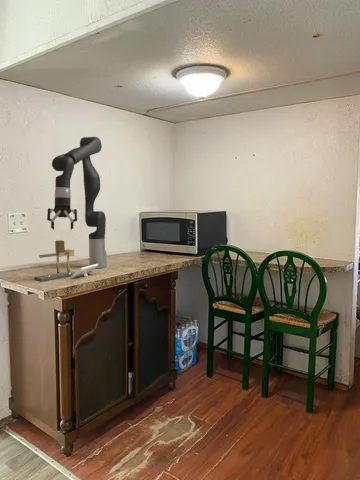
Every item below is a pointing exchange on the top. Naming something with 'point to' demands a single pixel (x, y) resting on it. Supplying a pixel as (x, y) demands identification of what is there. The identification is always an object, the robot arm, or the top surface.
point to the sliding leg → (59, 251)
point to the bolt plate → (53, 276)
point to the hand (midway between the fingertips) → (62, 229)
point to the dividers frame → (67, 253)
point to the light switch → (84, 271)
